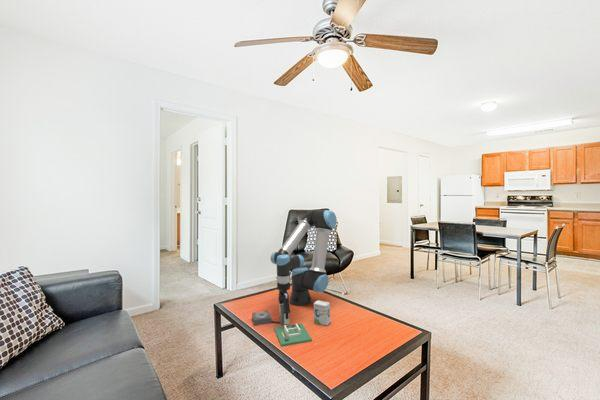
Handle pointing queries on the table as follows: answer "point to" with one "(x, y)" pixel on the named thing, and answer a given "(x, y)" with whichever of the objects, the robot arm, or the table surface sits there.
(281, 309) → the plug
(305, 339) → the board
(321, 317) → the ink box
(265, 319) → the speaker
